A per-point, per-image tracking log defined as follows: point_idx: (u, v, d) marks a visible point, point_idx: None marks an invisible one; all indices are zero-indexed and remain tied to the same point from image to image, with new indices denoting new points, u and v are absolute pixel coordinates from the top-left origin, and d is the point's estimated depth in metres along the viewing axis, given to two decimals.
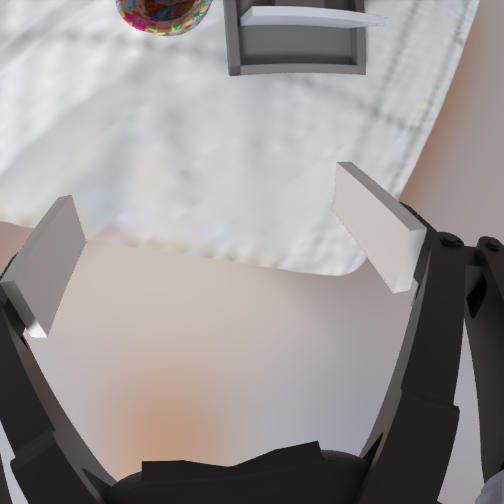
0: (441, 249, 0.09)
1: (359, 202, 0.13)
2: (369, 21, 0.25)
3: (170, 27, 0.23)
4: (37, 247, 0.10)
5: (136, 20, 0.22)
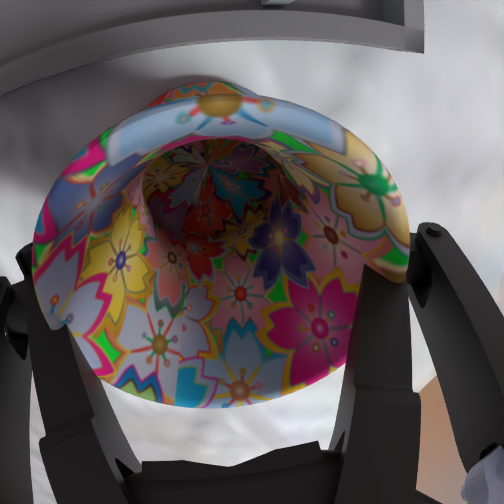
0: None
1: None
2: None
3: (392, 273, 0.08)
4: None
5: (320, 347, 0.10)
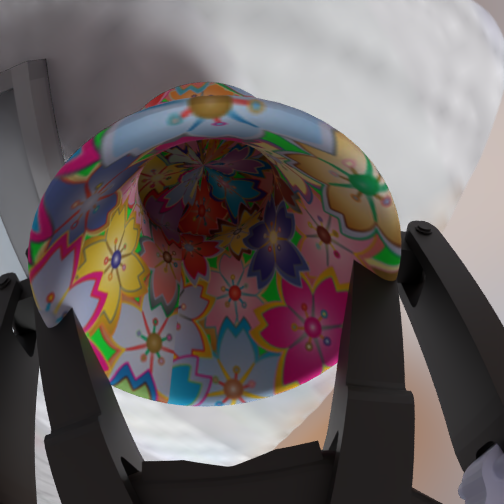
0: None
1: None
2: None
3: (384, 273, 0.08)
4: None
5: (313, 346, 0.10)
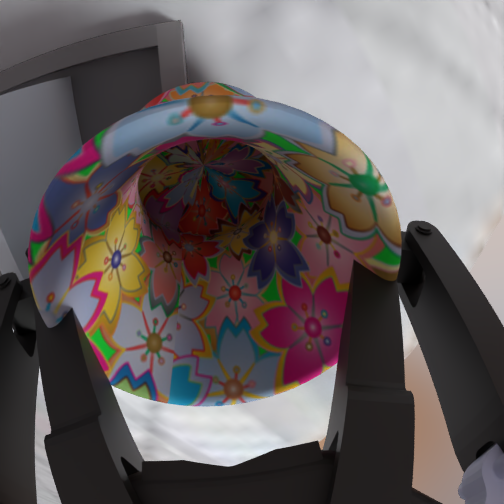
0: None
1: None
2: None
3: (384, 273, 0.08)
4: None
5: (313, 346, 0.10)
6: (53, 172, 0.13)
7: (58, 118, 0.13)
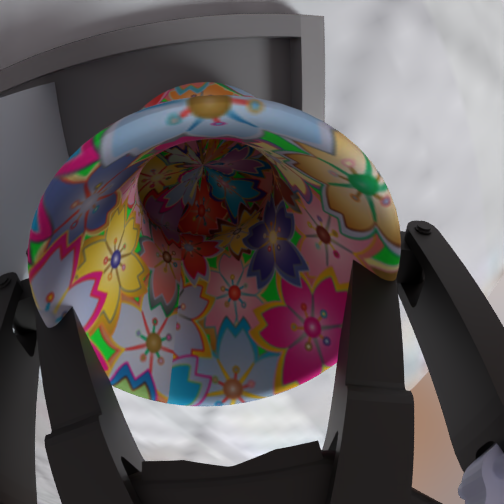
0: None
1: None
2: None
3: (384, 273, 0.08)
4: None
5: (312, 346, 0.10)
6: (35, 185, 0.12)
7: (40, 127, 0.12)
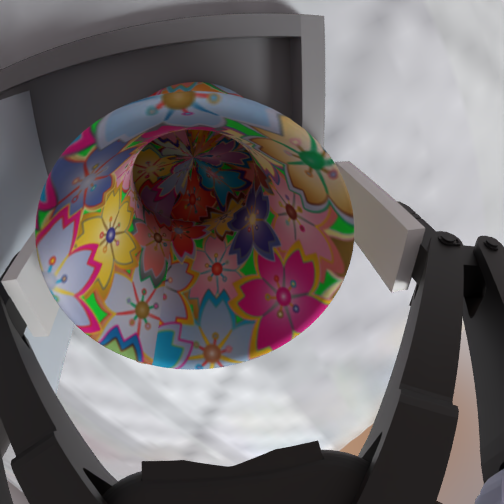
0: (439, 249, 0.09)
1: (358, 201, 0.13)
2: None
3: (341, 241, 0.09)
4: None
5: (283, 314, 0.11)
6: (7, 193, 0.12)
7: (14, 136, 0.12)
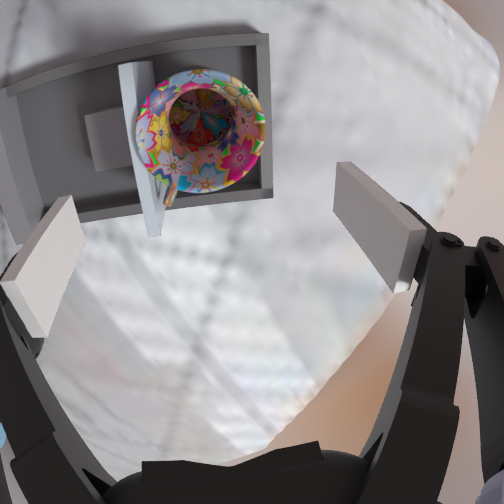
0: (441, 249, 0.09)
1: (360, 202, 0.13)
2: (133, 89, 0.19)
3: (259, 124, 0.22)
4: (37, 247, 0.10)
5: (239, 164, 0.24)
6: None
7: (150, 82, 0.25)
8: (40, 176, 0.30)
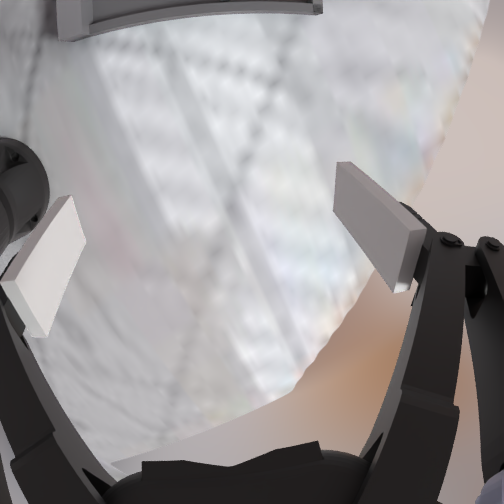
0: (441, 249, 0.09)
1: (360, 202, 0.13)
2: None
3: None
4: (37, 247, 0.10)
5: None
6: None
7: None
8: None
